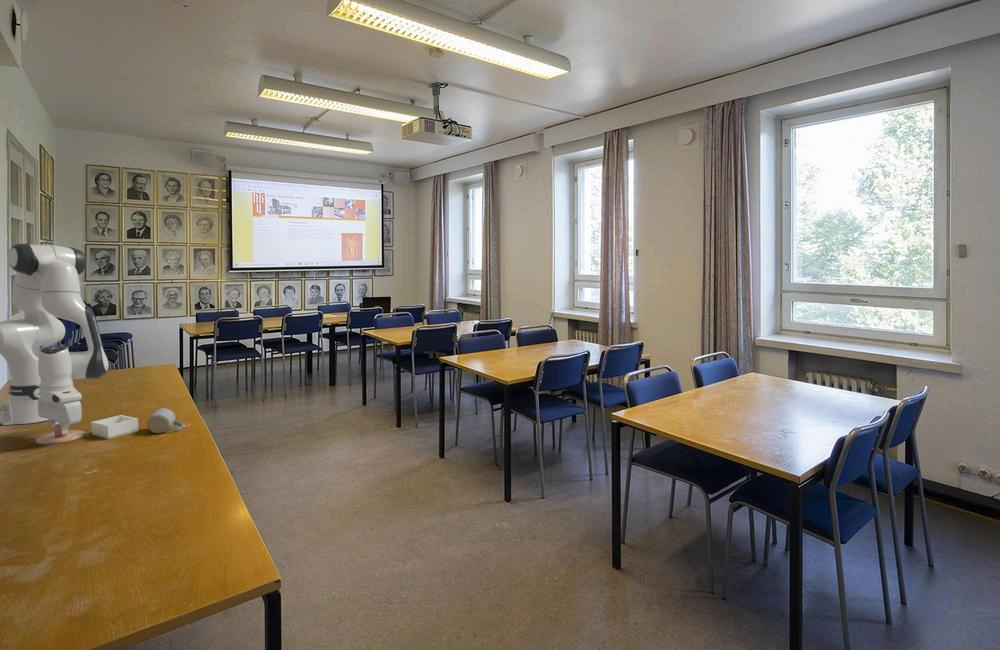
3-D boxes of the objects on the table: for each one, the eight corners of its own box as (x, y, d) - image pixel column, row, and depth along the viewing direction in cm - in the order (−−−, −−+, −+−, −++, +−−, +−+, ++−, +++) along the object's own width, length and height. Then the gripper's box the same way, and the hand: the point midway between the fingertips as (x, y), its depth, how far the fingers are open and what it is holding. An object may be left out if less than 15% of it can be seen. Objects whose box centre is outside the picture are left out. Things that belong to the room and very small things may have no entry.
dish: (92, 435, 188) (91, 421, 187) (122, 428, 197) (121, 414, 196) (108, 440, 184) (107, 425, 183) (138, 432, 193) (137, 418, 192)
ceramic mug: (146, 435, 189) (145, 414, 188) (152, 428, 197) (151, 408, 196) (180, 433, 193) (180, 412, 192) (185, 426, 200) (184, 406, 200)
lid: (28, 440, 181) (26, 427, 180) (72, 430, 192) (71, 417, 192) (48, 446, 175) (47, 432, 174) (92, 435, 187) (91, 422, 186)
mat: (28, 441, 181) (28, 440, 181) (72, 431, 192) (72, 430, 192) (48, 448, 175) (48, 446, 175) (92, 436, 187) (92, 435, 187)
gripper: (30, 392, 183) (33, 430, 185) (62, 399, 175) (66, 439, 176) (51, 388, 189) (54, 426, 191) (84, 395, 180) (87, 434, 182)
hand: (60, 432), depth 183 cm, fingers closed on lid, 3 cm apart
